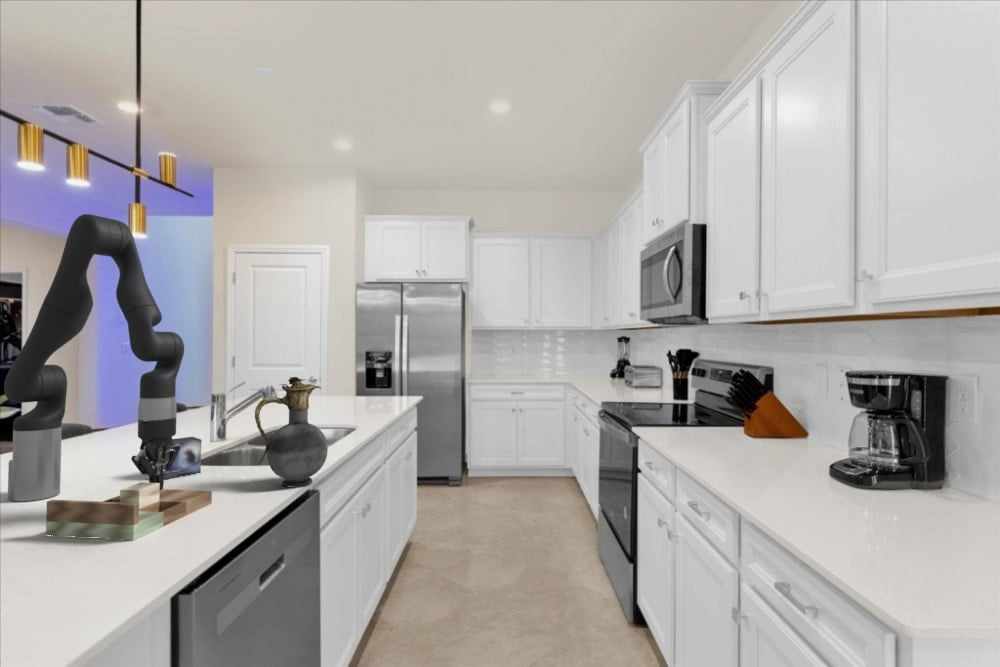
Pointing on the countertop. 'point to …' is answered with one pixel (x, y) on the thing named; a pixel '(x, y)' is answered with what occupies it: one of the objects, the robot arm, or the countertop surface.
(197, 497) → the wooden compartment tray
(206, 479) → the countertop surface
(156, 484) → the block
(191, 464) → the small box
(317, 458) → the pitcher
